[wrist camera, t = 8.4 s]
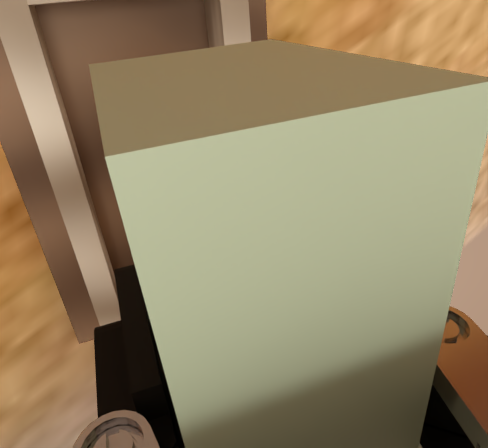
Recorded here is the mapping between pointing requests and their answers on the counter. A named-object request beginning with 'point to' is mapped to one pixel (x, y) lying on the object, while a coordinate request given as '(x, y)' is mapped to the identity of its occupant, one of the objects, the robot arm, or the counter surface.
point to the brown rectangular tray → (88, 123)
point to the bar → (293, 233)
